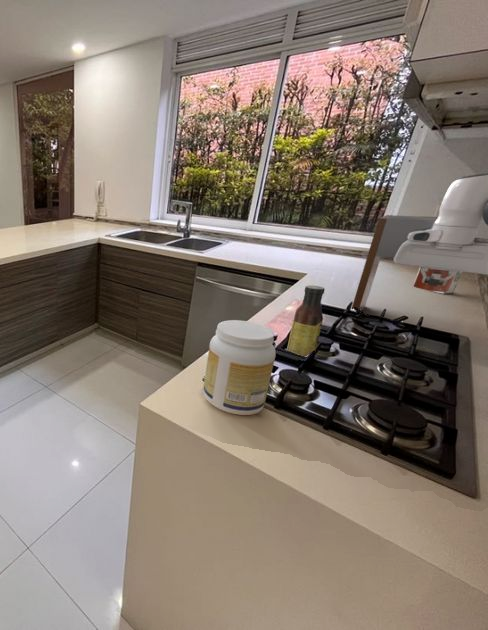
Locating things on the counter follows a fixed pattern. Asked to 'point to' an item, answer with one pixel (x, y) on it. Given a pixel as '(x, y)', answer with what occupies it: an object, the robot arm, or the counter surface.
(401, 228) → the flag
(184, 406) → the counter surface
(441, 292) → the syrup box
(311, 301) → the sauce bottle
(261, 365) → the supplement tub
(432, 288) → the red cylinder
